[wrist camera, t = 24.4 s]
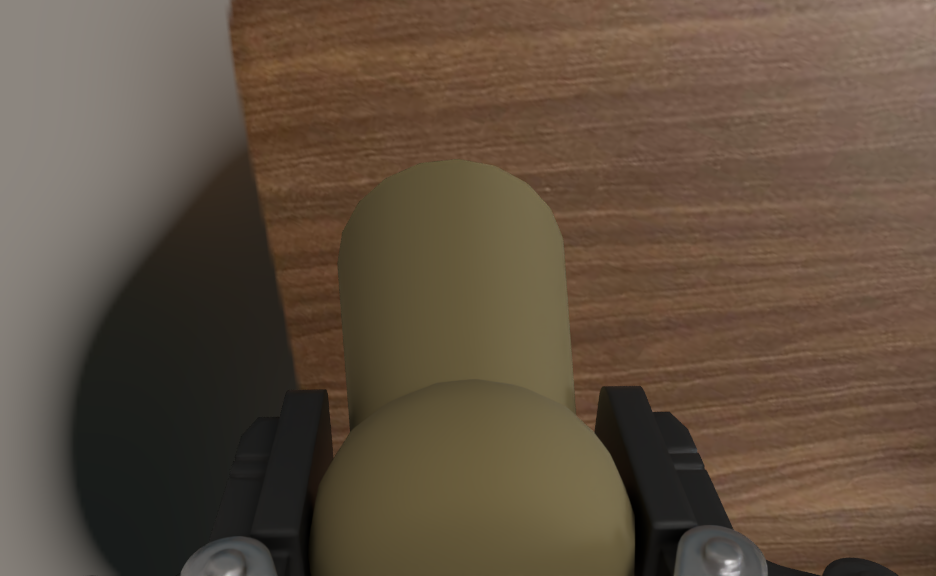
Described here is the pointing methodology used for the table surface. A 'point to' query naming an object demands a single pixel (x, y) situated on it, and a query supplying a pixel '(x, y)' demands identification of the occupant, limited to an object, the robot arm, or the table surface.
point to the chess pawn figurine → (463, 393)
